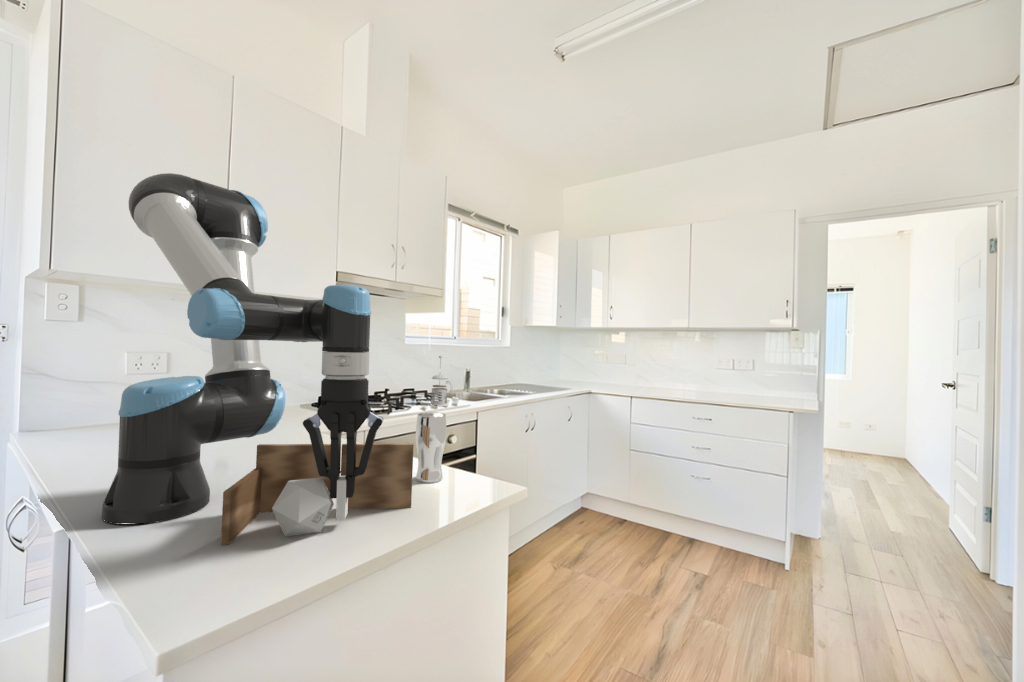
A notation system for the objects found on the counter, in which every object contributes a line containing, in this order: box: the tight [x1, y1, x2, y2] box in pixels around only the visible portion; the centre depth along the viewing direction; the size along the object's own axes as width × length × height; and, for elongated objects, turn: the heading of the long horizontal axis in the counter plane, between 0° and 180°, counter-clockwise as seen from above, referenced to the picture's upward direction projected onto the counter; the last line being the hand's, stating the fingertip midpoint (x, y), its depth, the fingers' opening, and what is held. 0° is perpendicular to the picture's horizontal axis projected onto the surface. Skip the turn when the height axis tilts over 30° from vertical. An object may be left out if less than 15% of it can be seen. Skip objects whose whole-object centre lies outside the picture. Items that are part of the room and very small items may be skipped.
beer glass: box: [415, 411, 447, 484], centre depth 103 cm, size 7×7×15 cm
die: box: [272, 478, 335, 537], centre depth 73 cm, size 8×9×10 cm
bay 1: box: [220, 443, 331, 546], centre depth 75 cm, size 13×14×12 cm
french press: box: [429, 355, 453, 407], centre depth 225 cm, size 10×12×25 cm
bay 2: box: [340, 442, 415, 510], centre depth 84 cm, size 13×1×12 cm, turn 101°
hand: (341, 516), depth 75 cm, fingers closed
